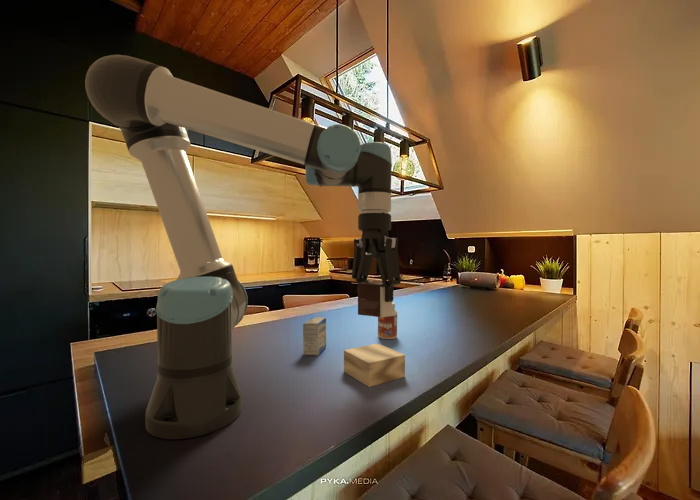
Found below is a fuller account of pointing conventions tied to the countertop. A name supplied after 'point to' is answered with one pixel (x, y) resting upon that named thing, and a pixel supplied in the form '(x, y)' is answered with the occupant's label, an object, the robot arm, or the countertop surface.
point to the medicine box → (314, 336)
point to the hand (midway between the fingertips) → (374, 312)
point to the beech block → (374, 364)
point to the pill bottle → (388, 325)
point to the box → (369, 298)
